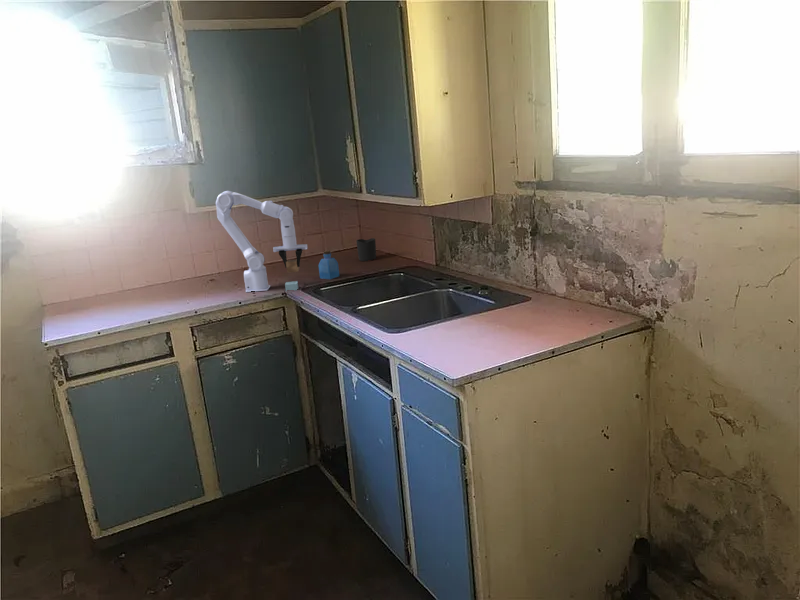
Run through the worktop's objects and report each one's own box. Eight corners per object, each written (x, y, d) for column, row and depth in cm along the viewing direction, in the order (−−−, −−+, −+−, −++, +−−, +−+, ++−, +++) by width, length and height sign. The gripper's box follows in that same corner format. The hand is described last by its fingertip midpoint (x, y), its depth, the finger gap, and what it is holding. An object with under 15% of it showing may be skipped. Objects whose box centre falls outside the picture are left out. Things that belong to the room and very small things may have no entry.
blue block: (285, 291, 276) (285, 284, 275) (286, 289, 280) (285, 282, 280) (297, 290, 276) (296, 283, 275) (298, 287, 281) (297, 281, 280)
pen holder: (368, 256, 333) (366, 237, 330) (380, 258, 326) (379, 238, 324) (354, 260, 326) (352, 240, 324) (367, 262, 320) (365, 242, 317)
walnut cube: (287, 272, 280) (285, 262, 279) (289, 270, 284) (287, 260, 283) (297, 271, 280) (296, 261, 279) (299, 269, 284) (297, 259, 283)
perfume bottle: (330, 279, 291) (327, 252, 287) (320, 278, 294) (316, 252, 291) (339, 276, 295) (336, 250, 292) (329, 275, 299) (326, 249, 296)
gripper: (306, 232, 282) (310, 263, 285) (273, 235, 282) (277, 266, 285) (304, 235, 275) (308, 267, 279) (270, 238, 275) (274, 269, 279)
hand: (292, 266), depth 282 cm, fingers closed on walnut cube, 4 cm apart
